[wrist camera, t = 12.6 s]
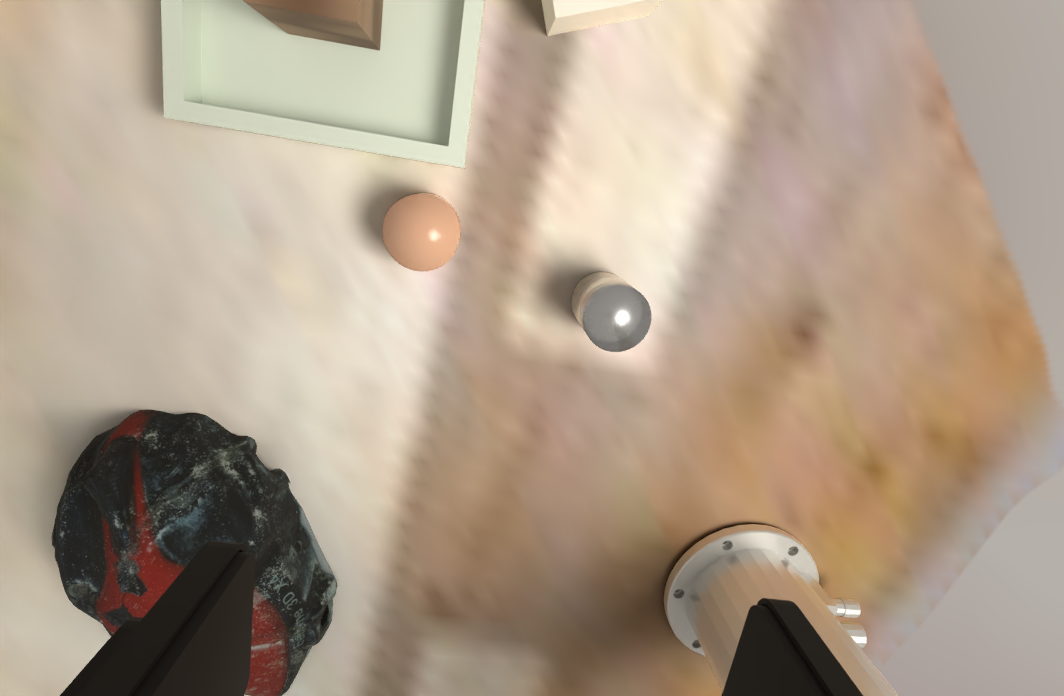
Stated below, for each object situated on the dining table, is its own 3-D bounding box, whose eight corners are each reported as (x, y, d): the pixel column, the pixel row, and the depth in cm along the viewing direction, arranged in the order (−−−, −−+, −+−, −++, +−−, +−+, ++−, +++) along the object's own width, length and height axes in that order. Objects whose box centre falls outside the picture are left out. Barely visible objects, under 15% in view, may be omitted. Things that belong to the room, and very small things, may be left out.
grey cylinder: (635, 276, 37) (658, 290, 32) (623, 333, 38) (643, 355, 33) (577, 267, 36) (591, 281, 32) (566, 325, 38) (578, 347, 33)
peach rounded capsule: (464, 198, 35) (463, 200, 32) (456, 268, 36) (454, 275, 33) (393, 187, 34) (385, 188, 31) (387, 258, 35) (379, 265, 32)
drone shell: (106, 378, 36) (6, 432, 29) (392, 475, 40) (370, 545, 32) (41, 625, 41) (-59, 726, 34) (301, 690, 45) (264, 794, 37)
